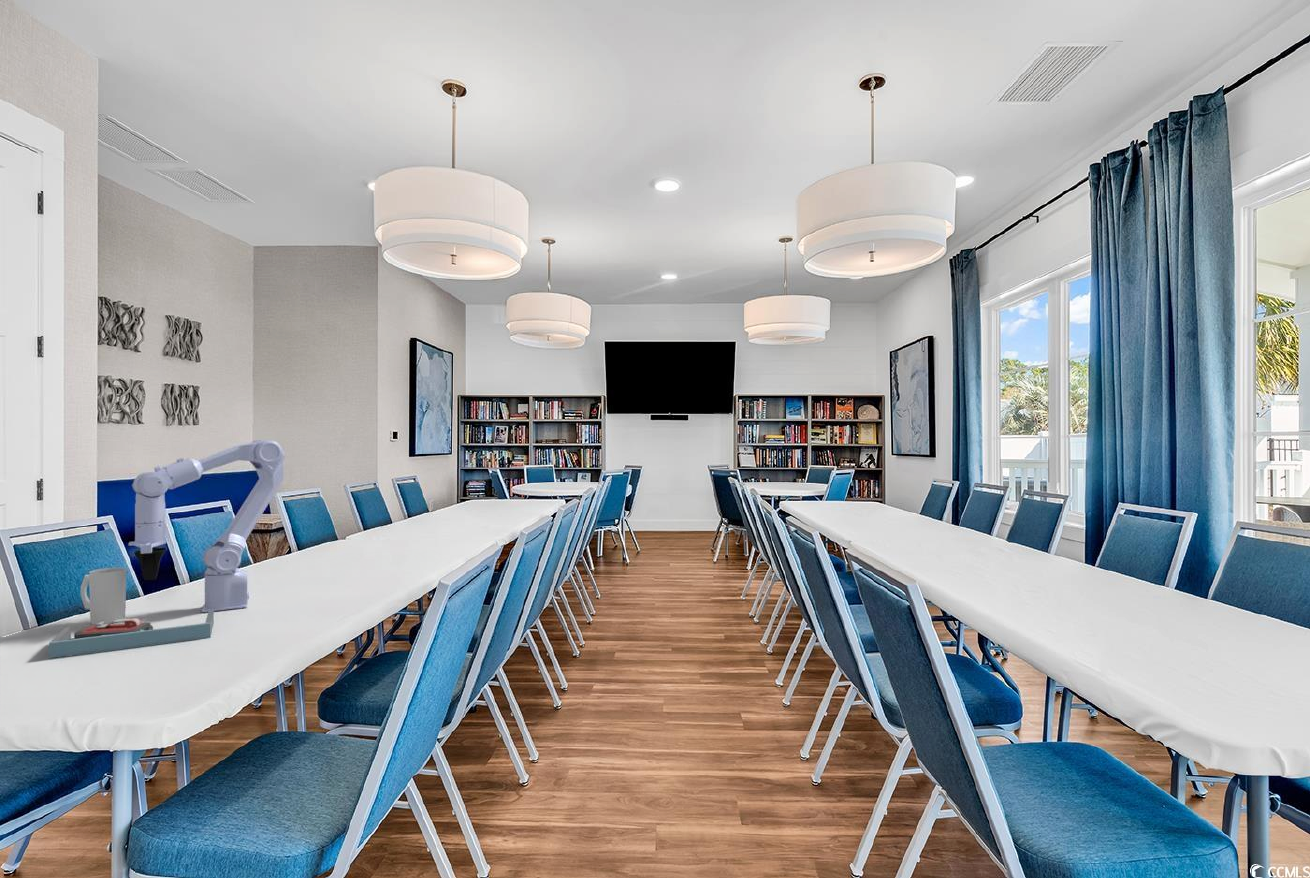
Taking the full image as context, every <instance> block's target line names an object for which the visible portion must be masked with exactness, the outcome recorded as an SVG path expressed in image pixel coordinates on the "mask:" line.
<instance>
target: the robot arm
mask: <svg viewBox="0 0 1310 878" xmlns="http://www.w3.org/2000/svg"><path fill="white" fill-rule="evenodd" d="M285 458H286V455H285V453H284V451H283V448H282V446H281V445H280V444H279V442H277V441H275V440H271V439H267V440H260V439H259V440H258V439H257V440H252V441H251V442H246V443H241V444H238V445H233V446H231V447H228V448H226V449H224V450H221V451H218V452H216V453H213V454H210V455H208V456H206V457H203V458H199V459H198V460H196V459H194V458H191V457H188V458H184V457H179V458H176V461H175V462H173V463H170V464H167V465H165V466H161V467H160V466H156V467H153V469H154V471H146V472H142V473H140V474H138V475H137V476H136V477H135V478H134V479H133V483H132V484H131V487H132V489H133V491H134V492H135V504H134V534H135V535H134V541H129V542H128V546H135V547H137V548H140V549H139V550H135V551H134V556H135V557H136V559H137V561H138V563H139V564H140V568H141V569H140V570H141V573H142V577H143V580H144V581H155V580H156V579H157V577H158V574H159V569H160V566H161V565H160V564H161V562H162V558H163V556H164V553H165V552H166V550H167V547H162V545H166V544H167V539H166V501H165V500H166V498H165V497H166V496H165V493H166V492H167V491H168V490H173V489H176V488H178V487H182V486H183V485H187V484H189V483H193V482H194V481H198V480H200V479H201V477H202V475H203V473H204V472H207V471H210V470H213V469H215V468H219V467H222V466H225V465H228V464H231V463H233V462H238V461H243V462H244V461H245V462H246V461H247V462H250V464H251V465H252V466H253V467H254V468H255V471H256V474H257V476H258V478H259V479H258V480H257V482H256V483H255V485H254V486H253V488H252V489H251V491H250V493H249V494H248V495H247V498H246V499H245V501H244V502H243V503H242V505H241V507H240V509H238V511H237V513H235V514H236V515H235V516H234V518H233V519H232V521H231V522H230V523H229V526H228V527H227V528H226V530H225V532H224V533H222V534H221V535H220V536H219V537H218V538H217V539H216V541H215V542H214V543H213V544H212V545H210V546H209V547H207V548H206V549H205V550H204V552H203V554H202V562H203V564H204V566H206V570H205V571H204V604H203V605H202V609H201V613H208V611H214V612H217V611H225V610H226V611H227V610H236V609H242V608H248V600H250V592H249V591H248V570H240V567H239V566H240V565H241V563H242V555H243V552H244V551H245V549H246V541H247V539H248V538H249V535H251V533H252V531H253V529H254V528H255V526H256V524H257V523H258V521H259V520H260V518H261V517H262V514H264V513H265V512H264V511H266V508H267V507H268V505H269V503H271V500H272V499H273V497H274V495H275V494H276V493H277V491H278V490H279V488H280V486H281V484H282V483H283V482H284V474H285V473H284V467H285V466H284V461H285ZM158 546H161V547H158Z"/></svg>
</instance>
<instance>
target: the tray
mask: <svg viewBox="0 0 1310 878" xmlns="http://www.w3.org/2000/svg"><path fill="white" fill-rule="evenodd" d="M214 613H215V611H208V612H207V615H206V619H205V621H204V622H203V623H196V624H187V625H178V626H170V627H161V628H155V629H154V628H153V630H145V631H136V632H128V633H120V634H112V635H104V636H95V637H87V638H79V639H72V627H71V626H69V627H64V628H63V629H62V630H61V631H60V632H59V633H58V634H57V635H56V636H55V637H54V638H53V639H52V640H51V641H49V643H48V659H49V658H51V659H56V658H55V657H59V658H62V657H61V656H66V657H70V656H69V655H74V656H79V655H81V656H82V655H87V654H95V653H102V652H110V651H111V652H112V651H117V650H118V649H119V650H125V649H126V648H127V649H133V647H134V648H140V647H141V648H142V647H148V646H155V645H157V646H158V645H163V644H171V643H178V642H186V641H192V640H193V641H194V640H201V639H207V638H208V639H209V638H212V637H211V636H212V633H213V629H212V628H214V625H215V624H214V616H215V615H214ZM68 639H71V640H68ZM127 649H126V650H127Z"/></svg>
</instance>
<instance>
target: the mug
mask: <svg viewBox="0 0 1310 878" xmlns="http://www.w3.org/2000/svg"><path fill="white" fill-rule="evenodd" d="M88 573H89V574H85V575H84V577H83V581H82V583H81V586H80V597H81V600H82V603H83V606H84V609H85V610H89V618H90V619H89V620H90V625H92V626H95V625H96V624H98V623H100V622H104V623H103V624H110V623H111V622H113V621H115V620H117V619H126V609H127V607H126V606H127V605H126V603H127V600H126V599H127V568H126V567H109V568H100V569H94V570H91V571H89V572H88ZM88 585H89V586H88ZM88 587H89V596H88V593H87V589H88Z"/></svg>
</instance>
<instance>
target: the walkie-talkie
mask: <svg viewBox="0 0 1310 878" xmlns="http://www.w3.org/2000/svg"><path fill="white" fill-rule="evenodd" d="M123 622H124V623H123ZM103 623H104V622H100V623H98V624H96V625H86V626H84V627H82V628H80V629H78V630H77V631H75V632H74V633H73V634H74V635H73V637H71V639H79V638H87V637H95V636H104V635H112V634H120V633H128V632H136V631H145V630H153V629H154V627H153V625H152V624H151V623H150V622H142V620H141V619H140V618H138V617H133V618H125V619H117V620H115V621H113V622H111V623H110V624H103ZM116 623H117V624H116ZM71 639H68V640H71Z"/></svg>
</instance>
